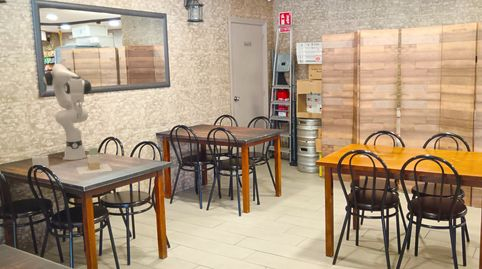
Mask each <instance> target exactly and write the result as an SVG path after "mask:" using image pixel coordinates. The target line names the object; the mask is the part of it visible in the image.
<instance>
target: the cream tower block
mask: <svg viewBox="0 0 482 269" xmlns="http://www.w3.org/2000/svg"><path fill="white" fill-rule="evenodd" d="M86 155H87V157H86V160H87V164H88V163H97V162H99V163H100V162H101V160H100V154H98V155H93V156H90V155H89V154H86Z"/></svg>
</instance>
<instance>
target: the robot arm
mask: <svg viewBox="0 0 482 269" xmlns="http://www.w3.org/2000/svg"><path fill="white" fill-rule="evenodd" d="M42 76H43V77H42V78H43V82H44V84H45V85H46V86H50V87H51V86H53V90H54V91H53V92H54V95H55V98H56V100H57V103H58V105H59V107H60V108H62V110H59V111H57V112H56V114H55V117H54V119H55V121H56V123H57V124H58V125H60V126H61V127H62V128H63V129H64V133H65V139H66V141H65V144H66V145H65V148H64V150H63V153H64V156H63V157H62V160H67V161H76V160H77V161H78V160H81V159H83V160H84V159H87V155H88V154H86V150H85V149H86V148H85V146H84V145H83V140H82V133H81V129H79V128H78V127H75V126H74V124H78V123H83V122H85V121H86V122H87V120H88V117H89V114H88V112H87V109H84V108H83V103H85V95H88V94H90V93H91V91H92V84H91V82H90V81H89V80H88V79H84V78H83V77H82V76H80V75H79V74H78V73H76V72H74V71H72V69H70V68H67V67H65V66H64V65H63V64H61V63H56V64H54V65H53V66H52V68H51V71H47V72H44V74H43V75H42ZM63 109H64V110H63Z"/></svg>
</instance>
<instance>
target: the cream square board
mask: <svg viewBox="0 0 482 269" xmlns="http://www.w3.org/2000/svg"><path fill="white" fill-rule="evenodd" d="M99 166H100V169H97V170H89V169H88V165H85V166H76V168H75V169H76V171H77V173H78V174H79V175H86V174H93V173H95V174H96V173H103V172H110V171H113V169H112V168H111V166H110V165H109V164H108V163H103V164H99Z"/></svg>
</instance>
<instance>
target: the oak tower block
mask: <svg viewBox="0 0 482 269" xmlns="http://www.w3.org/2000/svg"><path fill="white" fill-rule="evenodd" d="M99 165H100V162H97V163H88V162H87V166H88V169H89V170H97V169H100V166H99Z"/></svg>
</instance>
